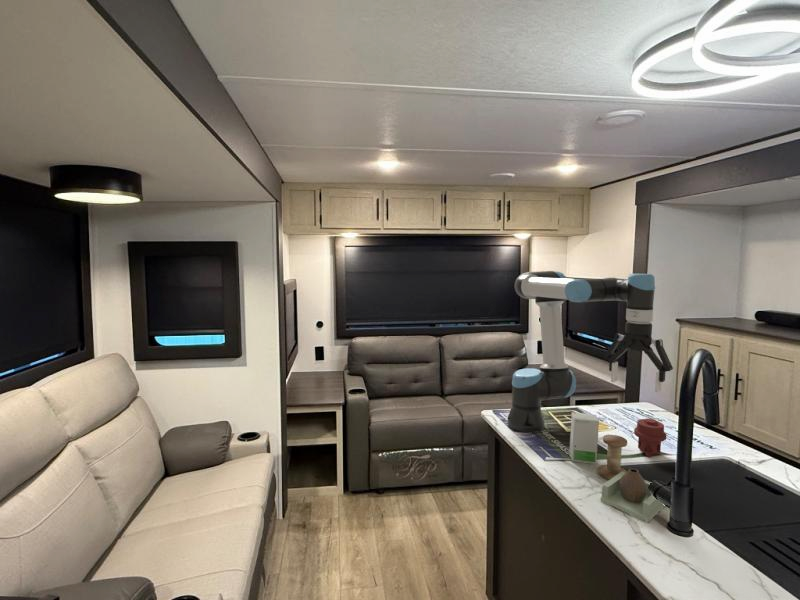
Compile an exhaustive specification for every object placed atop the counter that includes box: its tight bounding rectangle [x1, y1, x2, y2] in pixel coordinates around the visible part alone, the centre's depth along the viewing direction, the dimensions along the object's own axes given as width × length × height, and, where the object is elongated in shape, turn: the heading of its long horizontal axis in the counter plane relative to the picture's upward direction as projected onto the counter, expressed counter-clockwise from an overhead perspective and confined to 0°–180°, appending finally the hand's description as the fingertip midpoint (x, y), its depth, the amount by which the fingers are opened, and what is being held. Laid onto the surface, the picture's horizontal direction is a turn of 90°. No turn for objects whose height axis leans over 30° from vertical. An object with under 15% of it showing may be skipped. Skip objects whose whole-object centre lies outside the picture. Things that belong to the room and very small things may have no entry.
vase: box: [619, 468, 647, 503], centre depth 123 cm, size 7×7×9 cm
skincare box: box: [568, 411, 600, 465], centre depth 150 cm, size 8×7×16 cm
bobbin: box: [597, 434, 628, 481], centre depth 139 cm, size 9×9×12 cm
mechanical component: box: [633, 418, 667, 458], centre depth 153 cm, size 12×10×10 cm
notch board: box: [599, 472, 665, 523], centre depth 124 cm, size 13×13×5 cm
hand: (635, 386), depth 139 cm, fingers open, 13 cm apart
